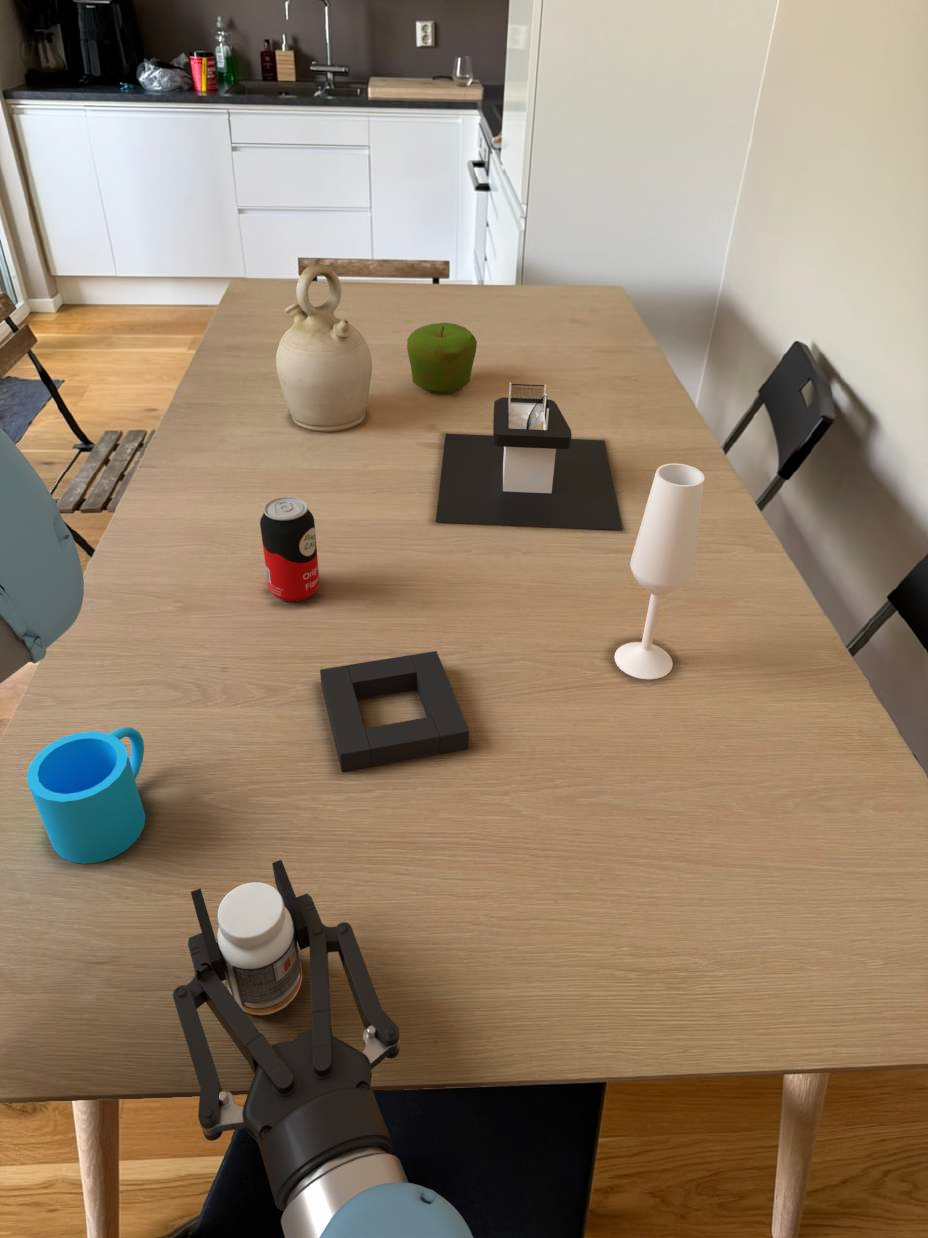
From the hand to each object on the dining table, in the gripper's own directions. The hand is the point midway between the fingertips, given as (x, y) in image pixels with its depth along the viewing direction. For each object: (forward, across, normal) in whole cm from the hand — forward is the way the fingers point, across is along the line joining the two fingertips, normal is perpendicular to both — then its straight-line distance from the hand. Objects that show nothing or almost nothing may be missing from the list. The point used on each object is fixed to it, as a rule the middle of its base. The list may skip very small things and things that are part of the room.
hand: (239, 886), depth 70 cm
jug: (+91, +38, -6) cm, 99 cm away
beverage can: (+44, +18, -6) cm, 48 cm away
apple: (+95, +61, -6) cm, 113 cm away
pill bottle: (-5, 0, -6) cm, 8 cm away
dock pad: (+19, +20, -6) cm, 28 cm away
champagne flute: (+15, +50, -6) cm, 53 cm away
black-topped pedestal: (+59, +59, -6) cm, 83 cm away
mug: (+18, -8, -6) cm, 20 cm away
